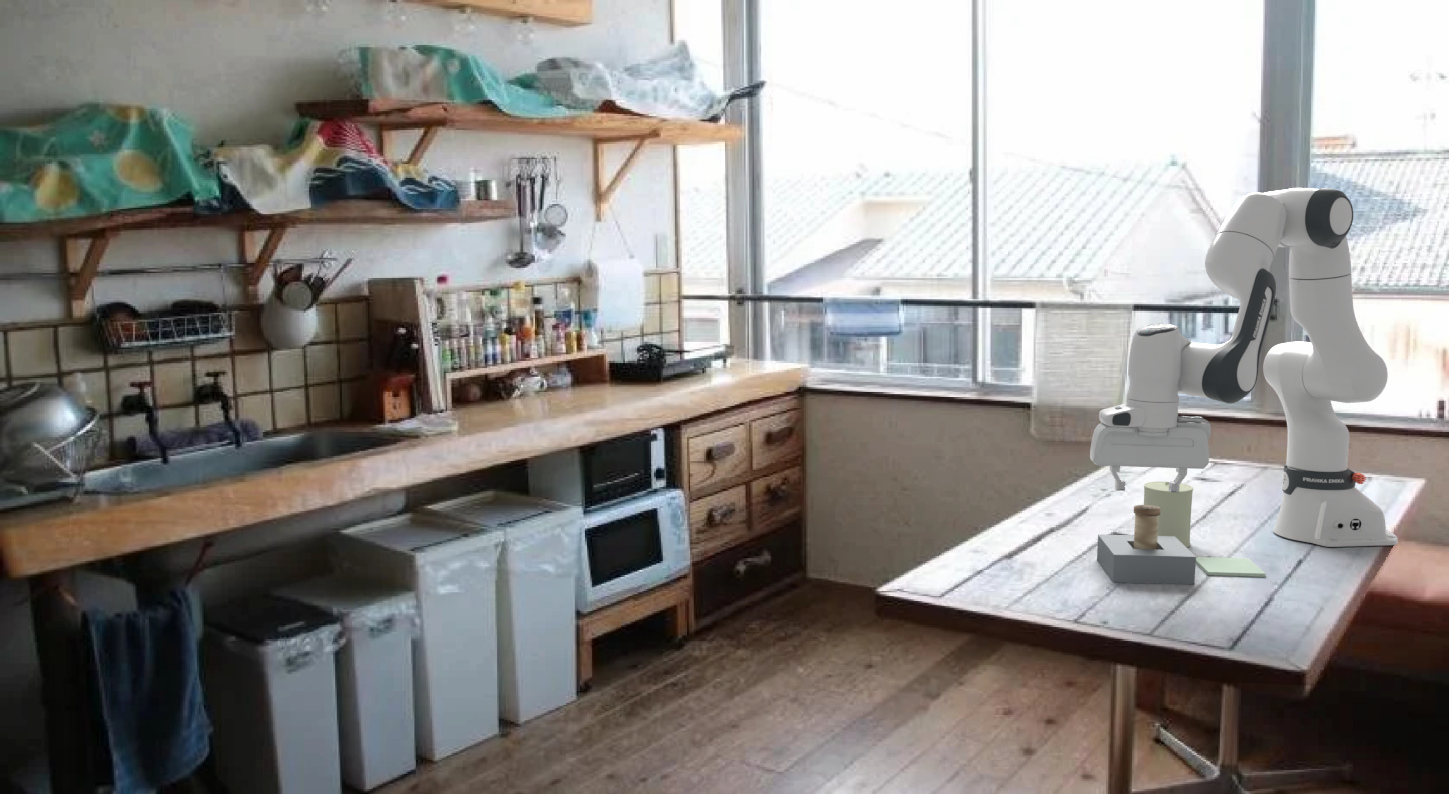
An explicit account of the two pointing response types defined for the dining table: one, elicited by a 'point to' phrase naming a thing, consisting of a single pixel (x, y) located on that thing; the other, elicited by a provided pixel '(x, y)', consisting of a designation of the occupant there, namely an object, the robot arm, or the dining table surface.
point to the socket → (1146, 560)
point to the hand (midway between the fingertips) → (1146, 491)
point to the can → (1171, 509)
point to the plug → (1146, 526)
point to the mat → (1229, 567)
